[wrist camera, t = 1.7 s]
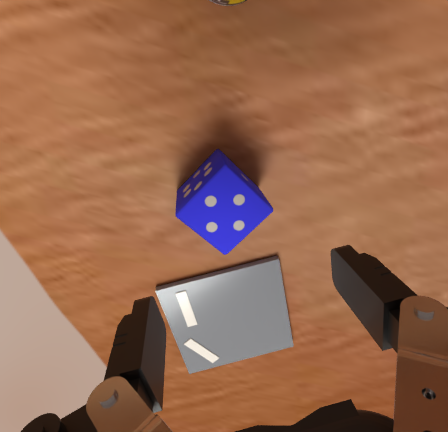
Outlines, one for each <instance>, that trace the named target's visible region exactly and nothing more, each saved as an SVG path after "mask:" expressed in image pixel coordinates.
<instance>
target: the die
mask: <svg viewBox="0 0 448 432" xmlns="http://www.w3.org/2000/svg"><path fill="white" fill-rule="evenodd" d="M272 212H273V208H272V206H271V205H270V203H269V202H268V200H267V199H266V198H265V196H264V195H263V193H262V192H261V190H260V189H259V188H258V186H257V185H256V184H254V183H253V182H252V181H251V180H250V179H249V178H248V177H247V176H246V175H245V174H244V173H243V172H242V171H241V170H240V169H239V168H238V167H237V166H236V165H235V164H234V163H233V162H232V161H231V160H230V159H229V158H228V157H227V156H226V155H225V154H224V153H222V152H221V151H220V150H219V149H216V150H215V151H214V152H213V153H212V154H211V156H210V157H209V158H208V159H207V160H206V161H205V162H204V163H203V164H202V165H201V166H200V167H199V168H198V169H197V170H196V171H195V172H194V173H193V174H192V176H191V177H190V178H189V179H188V180H187V181H186V182H185V183H184V184H183V185H182V186H181V187H180V188H179V189H178V190H177V200H176V217H177V218H178V219H180V220H181V221H182V222H183V223H185V224H186V225H187V226H189V227H190V228H191V229H192V230H194V231H195V232H196V233H197V234H199V235H200V236H201V237H202V238H204V239H205V240H206V241H208V242H209V243H210V244H211V245H213V246H214V247H215V248H216V249H218V250H219V251H220V252H221V253H223V254H228V253H229V252H230V251H231V250H232V249H233V248H234V247H235V246H236V245H237V244H238V243H239V242H241V241H242V240H243V239H244V238H245V237H246V236H247V235H248V234H249V233H250V232H251V231H252V230H253V229H254V228H256V227H257V226H258V225H259V224H260V223H261V222H262V221H263V220H264V219H265V218H266V217H267V216H268V215H270V214H271V213H272Z"/></svg>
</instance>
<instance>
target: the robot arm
mask: <svg viewBox="0 0 448 432" xmlns="http://www.w3.org/2000/svg"><path fill="white" fill-rule="evenodd" d="M331 265H332V278H333V282H334V285H335V287H336V289H337V291H338V292H339V294H340V295H341V296H342V298H343V299H344V300H345V302H346V303H347V304H348V306H349V307H350V308H351V310H352V311H353V312H354V314H355V315H356V316H357V317H358V319H359V320H360V321H361V323H362V324H363V325H364V327H365V328H366V329H367V331H368V332H369V333H370V335H371V336H372V337H373V339H374V340H375V341H376V343H377V344H378V345H379V347H380V348H381V349H382V351H383V350H387V349H391V348H393V349H394V350H395V351H396V352H397V368H396V385H395V402H394V419H391V418H389V417H387V416H384V415H382V414H379V413H375V412H372V411H366V410H356V408H355V406H354V404H353V402H352V401H351V399H350V400H346V401H342V402H339V403H335V404H332V405H328V406H325V407H321V408H319V409H318V410H316V411H314V412H313V413H311V414H310V415H308V416H307V417H305V418H303V419H302V420H300V421H299V422H297V423H296V424H294V425H291V426H268V425H257V426H253V427H250V428H246V429H243V430H239V431H235V432H448V307H445V306H444V305H443V304H442V303H440V302H439V301H437V300H435V299H432V298H429V297H425V296H418V295H417V294H415V293H414V292H413V291H412V290H411V289H410V288H409V287H408V286H407V285H405V284H404V283H403V282H402V281H401V280H400V279H399V278H398V277H397V276H395V275H394V274H393V273H391V271H390V270H389V269H388V268H387V267H385V266H384V265H383V264H382V263H381V262H380V261H379V260H378V259H377V258H375V257H373V256H370V255H368V254H366V253H361V254H359V253H358V252H356V251H355V250H354V249H353V248H352V247H351V246H350V245H346V246H342V247H338V248H334V249H332V250H331ZM165 350H166V328H165V324H164V321H163V318H162V316H161V314H160V311H159V309H158V306H157V304H156V301H155V299H154V297H153V296H150V297H146V298H142V299H139V300H135V301H134V305H133V309H132V314H129V315H125V316H124V317H123V319H122V320H121V322H120V323H119V325H118V327H117V331H116V334H115V339H114V342H113V347H112V350H111V354H110V358H109V362H108V366H107V370H106V374H105V378H104V381H103V382H102V383H100V384H99V385H98V386H97V387H96V388H95V389H94V390H93V391H92V393H91V395H90V396H89V398H88V401H87V404H86V405H84V406H83V407H81V408H79V409H78V410H76V411H74V412H72V413H71V414H69V415H67V416H65V417H64V418H62V419H60V418H59V417H58V416H57V415H56V414H52V413H47V414H43V415H41V416H39V417H37V418H35V419H34V420H33V421H31V422H30V423H29V424H28V425H26V426H25V427H24V428H23V430H22V431H21V432H172V431H171V429H170V428H169V427H168V426H167V425H166V423H165V422H164V421H163V420H162V419H161V418H160V416H158V415H157V414H156V415H155V414H154V413H155V412H158V411H162V406H163V387H164V369H165Z"/></svg>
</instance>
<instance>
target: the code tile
mask: <svg viewBox="0 0 448 432" xmlns="http://www.w3.org/2000/svg"><path fill="white" fill-rule="evenodd" d="M155 291H156V294H157V296H158V299H159V301H160V304H161V306H162V308H163V311H164V313H165V316H166V318H167V321H168V323H169V325H170V328H171V330H172V333H173V335H174V338H175V340H176V342H177V345H178V347H179V350H180V352H181V355H182V357H183V359H184V362H185V364H186V367H187V369H188V372H189V374H191V373H195V372H198V371H202V370H206V369H210V368H213V367H217V366H221V365H225V364H229V363H232V362H236V361H240V360H244V359H247V358H251V357H255V356H259V355H263V354H266V353H270V352H274V351H278V350H282V349H285V348H289V347H293V340H292V334H291V328H290V322H289V316H288V310H287V304H286V298H285V292H284V286H283V280H282V274H281V268H280V262H279V258H278V256H274V257H270V258H266V259H262V260H259V261H255V262H251V263H247V264H243V265H239V266H235V267H231V268H228V269H224V270H220V271H216V272H212V273H208V274H204V275H201V276H197V277H193V278H189V279H185V280H181V281H177V282H173V283H170V284H166V285H162V286H158V287H156V290H155Z"/></svg>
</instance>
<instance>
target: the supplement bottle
mask: <svg viewBox="0 0 448 432" xmlns="http://www.w3.org/2000/svg"><path fill="white" fill-rule="evenodd" d="M209 1H211V2H213V3H216V4H219V5H223V6H233V5H238V4H241V3H243V2H245V1H247V0H209Z"/></svg>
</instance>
